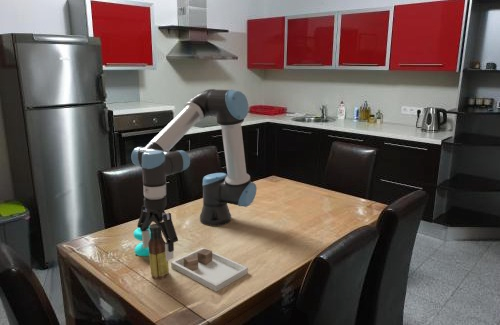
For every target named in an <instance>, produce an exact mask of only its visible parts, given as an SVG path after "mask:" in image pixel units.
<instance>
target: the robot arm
mask: <svg viewBox="0 0 500 325" xmlns="http://www.w3.org/2000/svg"><path fill="white" fill-rule="evenodd" d="M248 111H249V101H248V99H247V96H246V95H245V94H244V93H243V92H242V91H239V90H234V89H214V88H213V89H212V88H211V89H205V90H203V91H201V92H199V93H197V94H196V95H195V96H194V95H193V97H191V98H190V99H189V100H188V101H186V103H185V104H184V105H183V109H182V110H181V111H180V112H179V113H178V114H177V115H176V116H175V117H174V118H173V119H172V120H171V121H170V122H169V123H168V124H167V125H166V126H164V127H163V129H162V130H160V131H159V133H158V134H156V135H155V136H154V137H153V138H152V139H151V140H150V141H149V142H148V143H147V144H146V145H145V146H137V147H135V148H134V149H133V150H132V152H131V157H130V158H131V162H132V164H134V166H136V167H139V168H141V172H142V184H143V188H142V189H143V196H144V197H143V205H142V206H141V207H140V208H141V212H140V215H139V219H138V222H137V225H136V226H137V228H140V230H141V231H142V241H141V243H142V242H143V249H145V248H147V247H148V243H149V241H150V230H149V226H150V225H152V224H153V223H154V224H157V225H158V226H159V227H160V229H161V234H162V236H163V238H164V240H165V241H166V242H165V251H166V261H170V260H173V259H174V258H175V256H174V250H175V248H174V246H175V245H174V244H175V243H176V242H178V241H179V239H178V235H177V232H176V229H175V226H174V224H173V219H172V214H171V213H170V212H167V213H166V211H165V209H166V207H167V205H168V204H167V202H168V201H167V199H168V198H167V180H166V179H167V176H168V177H169V176H170V175H174V174H178V173H182V172H183V171H185V170H187V169H188V168H189V167H190V165H191V159H190V158H191V157H190V156H189V154H188V152H186V151H185V150H181V149H180V150H175V151H170V150H171V149H173V147H175V145H176V144H177V143H178V142H179V141H180V140H181V139H182V138H183V137H184V136H185V135H186V134H187V133H188V132H189V130H190V129H192V128H193V127H194V126H195V124H197V123H199V122H201V121H203V120H204V119H205V118H207V117H212V118H216V123H217V125H218V126H220V127H221V128H220V129H221V134H222V142H223V143H222V144H223V150H224V157H225V165H226V166H225V167H226V172H227V173H226V172H215V173H210V174H207V175H205V176H203V178H202V208H201V213H200V215H199V222H200V223H201V224H203V225H205V226H222V225H227V224H228V223H230V221H231V220H232V214H231V212H230V210H229V209H230V208H229V206H228V204H229V205H234V206H238V207H245V208H247V207H249V206H251V205H252V203H253V202H254V200H255V198H256V196H257V189H258V188H257V185H256V183H255V182H253V181H251V175H250V174H249V173H247V166H246V165H247V164H246V157H245V148H244V147H245V146H244V140H243V138H244V137H243V130H242V124H243V123H244V122H245V118H246V117H247V116H248V114H249V112H248ZM147 229H148V230H147Z"/></svg>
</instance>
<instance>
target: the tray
mask: <svg viewBox="0 0 500 325" xmlns="http://www.w3.org/2000/svg"><path fill="white" fill-rule="evenodd" d="M202 249H207V250H209V249H208V248H205V247H203V246H202V247H201V248H199V249H196V250H194V251H192V252H190V253H188V254H185V255H183V256H181V257H179V258H176V259H175V260H173V261H171V262H170V267H171V268H172V269H173V270H176V271H177V272H179V273H180V274H182V275H184V276H186V277H188V278H189V279H192V280H193V281H195V282H198V283H199V284H201V285H203V286H204V287H206V288H208V289H210V290H212V291H214V292H215V293H217V292H219V291H220V290H222V289H223V288H225V287H227V286H229V285H230V284H232V283H233V282H235V281H237V280H239V279H240V278H242V277H244V276H246V275H247V274H248V273H249V268H248V266H245V265H244V264H240V263H239V262H236V261H234V260H232V259H230V258H228V257H226V256H223V255H221V254H219V253H216V252H215V251H212V261H211V262H210V263H208V264H207V265H205V264H202V263H199V262H198V269H197V270H194V271H191V270H189V269H187V268H186V267H184V257H188V256H191V255H194V256H195V257H196V258H197V259H198V254H197V253H198V252H199V251H201V250H202Z"/></svg>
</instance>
